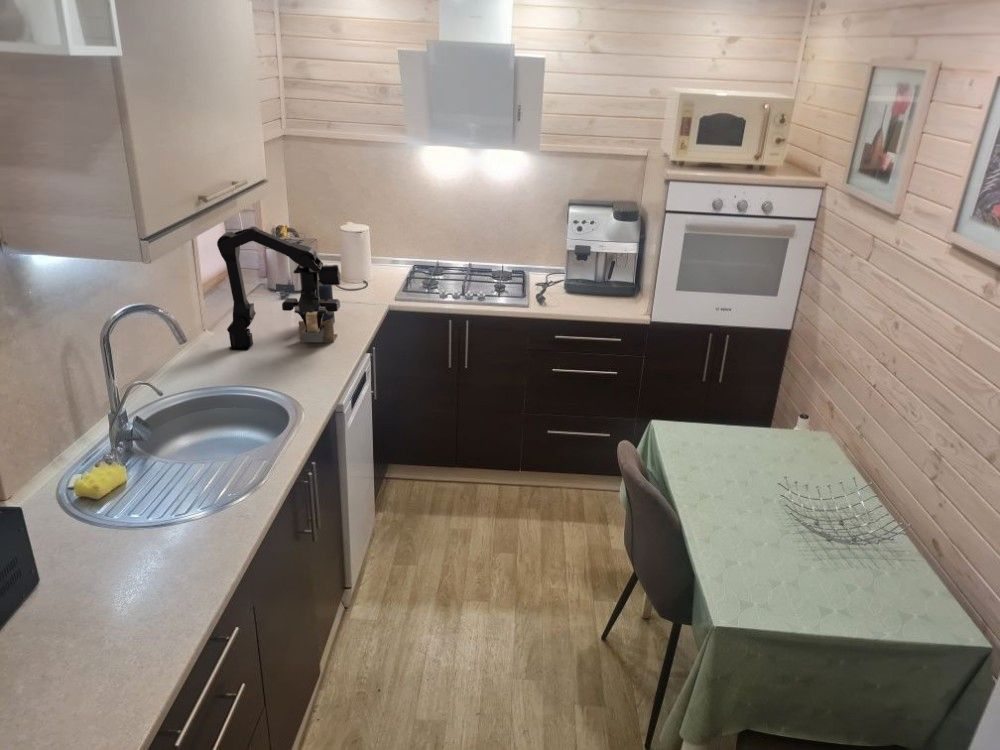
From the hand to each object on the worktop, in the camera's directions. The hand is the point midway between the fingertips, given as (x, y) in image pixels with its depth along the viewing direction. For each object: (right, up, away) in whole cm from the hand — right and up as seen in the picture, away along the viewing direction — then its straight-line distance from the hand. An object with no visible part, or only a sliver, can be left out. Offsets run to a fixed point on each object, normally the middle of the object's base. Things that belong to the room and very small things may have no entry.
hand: (313, 328), depth 245 cm
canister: (-2, +2, +21) cm, 22 cm away
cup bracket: (0, -5, +5) cm, 7 cm away
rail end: (0, -1, +1) cm, 2 cm away
